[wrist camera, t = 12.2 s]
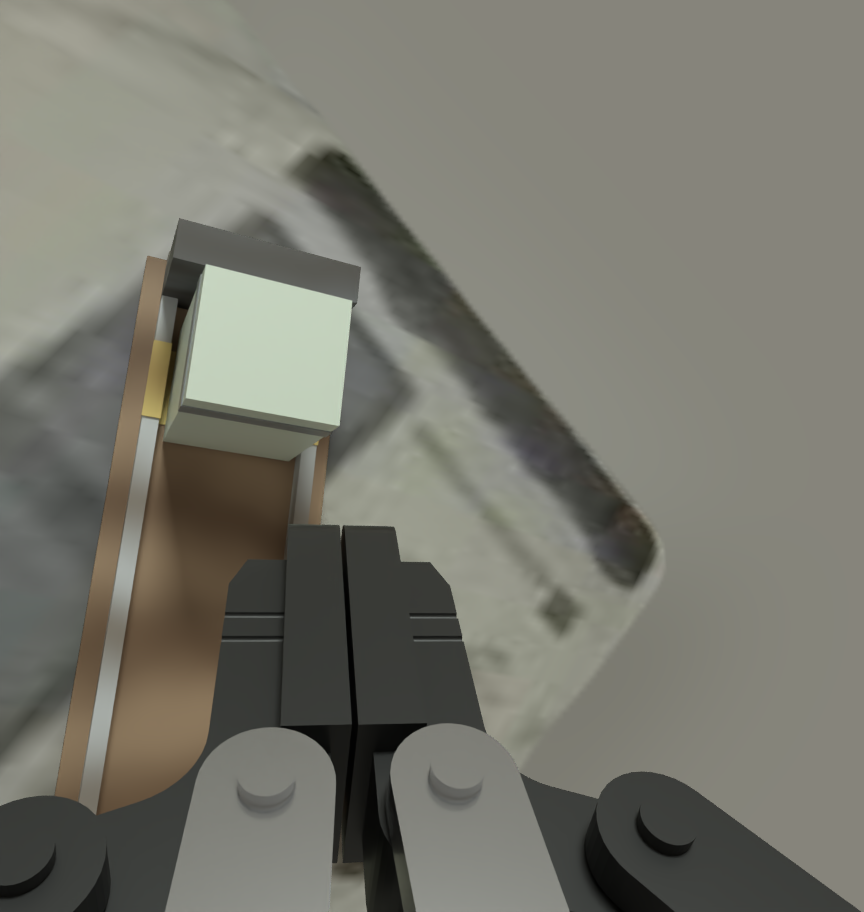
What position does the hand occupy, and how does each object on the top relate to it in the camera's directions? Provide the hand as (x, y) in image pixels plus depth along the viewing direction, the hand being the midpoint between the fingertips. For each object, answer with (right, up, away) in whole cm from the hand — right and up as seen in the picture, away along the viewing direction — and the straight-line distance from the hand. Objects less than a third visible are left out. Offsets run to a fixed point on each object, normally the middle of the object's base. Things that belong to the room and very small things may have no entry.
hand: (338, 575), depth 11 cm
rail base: (-10, -2, +30) cm, 32 cm away
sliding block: (-9, +5, +31) cm, 32 cm away
